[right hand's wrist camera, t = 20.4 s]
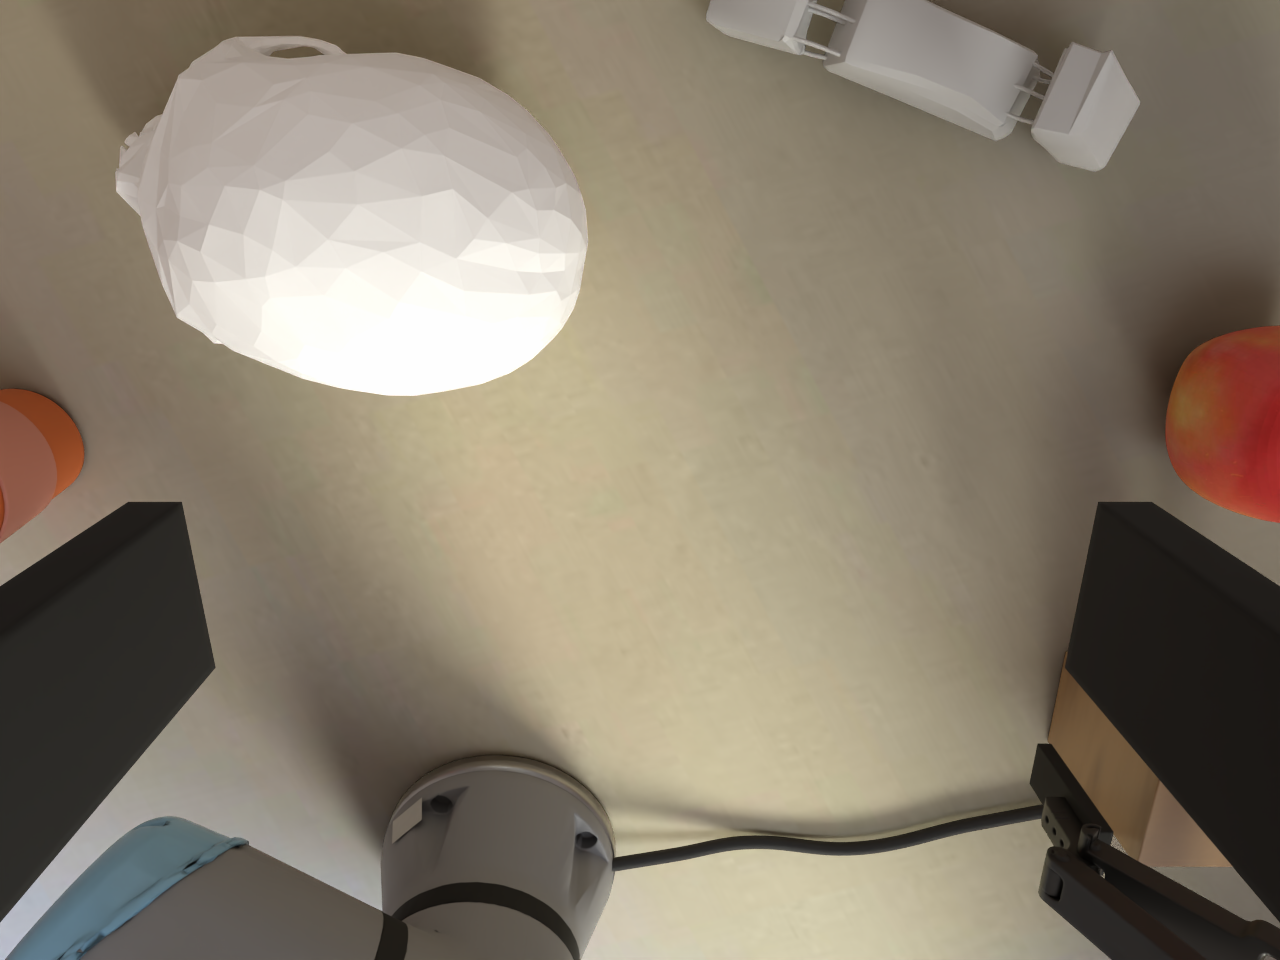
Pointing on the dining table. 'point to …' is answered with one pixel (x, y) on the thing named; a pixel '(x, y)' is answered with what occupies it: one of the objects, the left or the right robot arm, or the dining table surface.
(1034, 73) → the white segmented model
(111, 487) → the dining table surface
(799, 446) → the dining table surface
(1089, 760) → the brick
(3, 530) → the cup with straw
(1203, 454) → the apple
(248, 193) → the skull
